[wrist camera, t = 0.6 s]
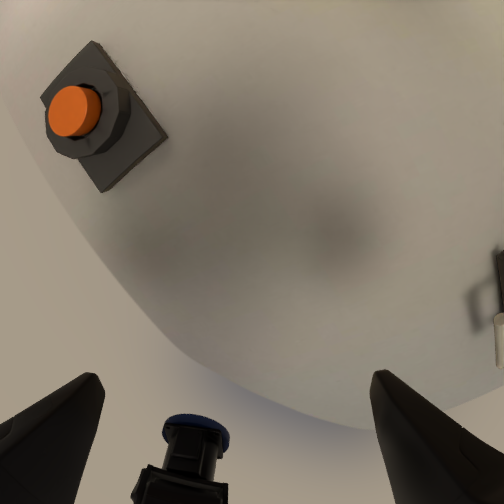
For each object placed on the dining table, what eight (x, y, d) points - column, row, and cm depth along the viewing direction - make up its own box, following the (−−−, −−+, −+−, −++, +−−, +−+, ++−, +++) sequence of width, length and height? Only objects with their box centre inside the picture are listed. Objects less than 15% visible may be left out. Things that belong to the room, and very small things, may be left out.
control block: (169, 136, 19) (153, 136, 16) (108, 191, 20) (87, 199, 17) (99, 43, 16) (79, 33, 13) (48, 98, 17) (24, 96, 15)
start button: (109, 111, 16) (95, 110, 14) (77, 145, 16) (62, 147, 15) (87, 79, 15) (72, 75, 13) (56, 112, 16) (41, 112, 14)
